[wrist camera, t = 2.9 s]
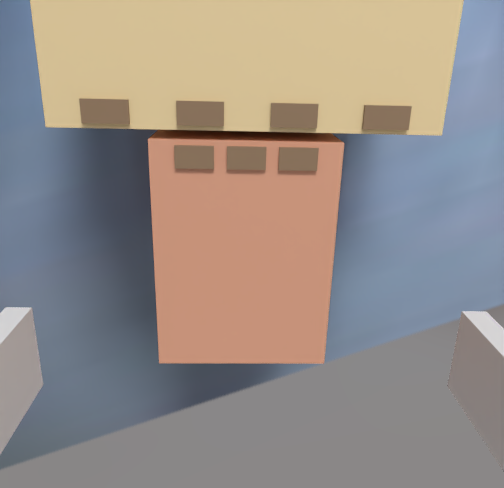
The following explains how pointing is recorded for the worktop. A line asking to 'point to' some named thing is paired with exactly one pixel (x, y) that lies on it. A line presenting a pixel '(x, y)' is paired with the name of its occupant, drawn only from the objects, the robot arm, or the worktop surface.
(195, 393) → the worktop surface
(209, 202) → the stub
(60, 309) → the worktop surface
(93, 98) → the block
